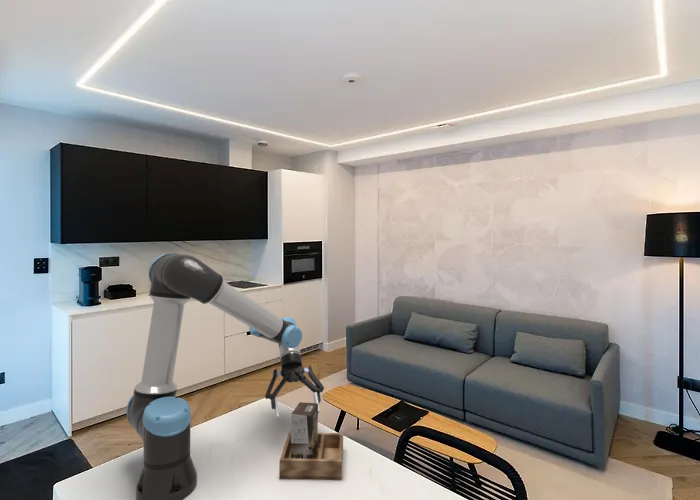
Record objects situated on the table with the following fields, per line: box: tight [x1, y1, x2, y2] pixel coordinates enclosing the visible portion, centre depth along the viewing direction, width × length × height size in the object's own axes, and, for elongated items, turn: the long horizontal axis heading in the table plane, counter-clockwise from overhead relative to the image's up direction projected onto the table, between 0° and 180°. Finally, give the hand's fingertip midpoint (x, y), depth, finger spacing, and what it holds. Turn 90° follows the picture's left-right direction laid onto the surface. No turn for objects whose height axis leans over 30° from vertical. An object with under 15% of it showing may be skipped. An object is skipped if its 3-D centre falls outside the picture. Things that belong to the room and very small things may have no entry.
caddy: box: [278, 431, 344, 481], centre depth 118 cm, size 18×16×6 cm
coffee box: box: [290, 401, 319, 459], centre depth 118 cm, size 9×6×16 cm
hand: (298, 415), depth 127 cm, fingers open, 13 cm apart
